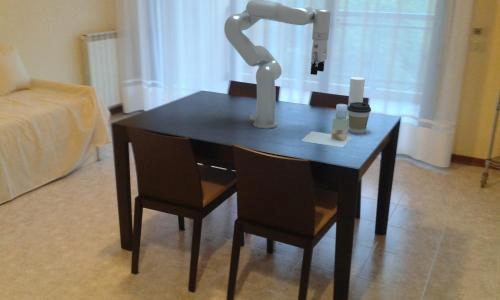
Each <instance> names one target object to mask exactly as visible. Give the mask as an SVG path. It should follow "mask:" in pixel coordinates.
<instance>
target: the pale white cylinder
mask: <svg viewBox="0 0 500 300" xmlns="http://www.w3.org/2000/svg"><path fill="white" fill-rule="evenodd" d="M347 113H348V104H345V103H338V104H336V109H335V116H336V118H337V119H346V117H347Z"/></svg>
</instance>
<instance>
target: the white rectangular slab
mask: <svg viewBox="0 0 500 300" xmlns="http://www.w3.org/2000/svg"><path fill="white" fill-rule="evenodd" d="M331 137H332V133H325V132H319V131H313V130H312V131H310V132H309V133H307V135H306V136H304V137H303V138H301V140H300V141H301V142H306V143H313V144H319V145H324V146H331V147H337V148H344V147H345V146H346V145H347V144H348V142H350V141H351V139H352V136H347V138H346V139H345V140H344V141H341V140H334V139H331Z"/></svg>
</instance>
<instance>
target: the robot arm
mask: <svg viewBox="0 0 500 300" xmlns="http://www.w3.org/2000/svg"><path fill="white" fill-rule="evenodd" d="M331 13H332V12H331V10H330V9H326V8H315V7H310V6H307V7H301V8H300V7H295V6H294V7H292V6H286V5H283V3H281V2H277V1H268V0H249V1H248V2H247V3H246V6H245V10H243V11H242V12H239V13H234V14H232V15H230V16H228V18H227V19H226V20H225V23H224V25H223V26H224V27H223V29H224V35H225V37H226V39H227V41H228V42H229V44H230V45H231V46H232V47H233V48H234V49H235V50H236V51H237V53H238V54H239V55H240V57H241V59H243V60H244V62H245V63H246V64H247V66H250V67H258V68H257V70H256V72H255V82H256V115H252V114H250V115H249V119H250V121H253V123H252V125H253V127H255V128H257V129H265V130H267V129H274V128H276V127H278V126H279V125H278V124H279V123H278V121H276V94H277V92H276V91H277V90H276V83H275V81H276V80H277V79H279V78H280V77H281V75H282V72H283V71H282V67H281V65H280V63H279V62H278V61H277V60H276V58H275V57H274V56H273V54H272V53H271V52H270V51H269V50H268V49H267V48H266V47H265V46H263V45H255V44H254V43H253V42H252V41H251V40H250V38H249V37H248V36H247V35H246V34H244V33H243V31H246V30H248V29H250V28H251V27H252V26H254V25H255V24H256V23H258V22H259V21H260V20H267V21H273V22H279V23H283V24H287V25H293V26H294V25H295V26H306V25H309V24H312V34H311V35H312V36H311V40H313V41H312V46H311V58H310V59H311V61H310V72H309V73H310V75H314V76H317V75H318V72H324V70H325V63H326V60H327V59H328V41H329V34H330V33H329V32H330V25H331V16H332V15H331Z"/></svg>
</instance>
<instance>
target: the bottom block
mask: <svg viewBox="0 0 500 300" xmlns="http://www.w3.org/2000/svg"><path fill="white" fill-rule="evenodd" d="M348 130H349V127H348V128H347V129H346V130H345V131H343V130H337V129H332V128H331V134H332V137H331V139H334V140H341V141H344V140H345V139H346V138H347V137H348V132H349V131H348Z"/></svg>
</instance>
